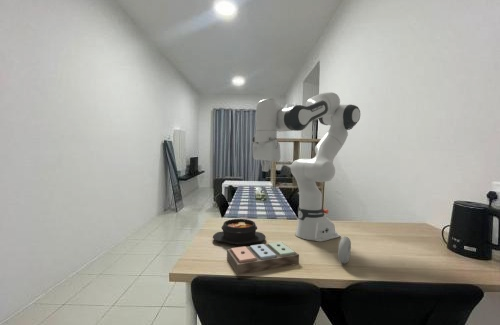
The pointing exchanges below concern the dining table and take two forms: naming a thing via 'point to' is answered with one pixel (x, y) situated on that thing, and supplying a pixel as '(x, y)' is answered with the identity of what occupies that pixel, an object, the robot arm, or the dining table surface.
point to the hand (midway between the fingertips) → (265, 171)
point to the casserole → (239, 232)
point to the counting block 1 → (242, 254)
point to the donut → (344, 250)
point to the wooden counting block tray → (261, 262)
